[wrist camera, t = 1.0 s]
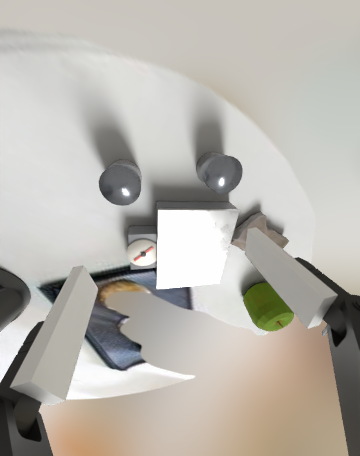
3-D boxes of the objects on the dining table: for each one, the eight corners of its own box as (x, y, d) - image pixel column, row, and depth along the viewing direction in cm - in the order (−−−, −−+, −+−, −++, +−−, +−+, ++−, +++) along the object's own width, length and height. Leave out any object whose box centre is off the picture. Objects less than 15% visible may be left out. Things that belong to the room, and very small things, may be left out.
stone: (220, 238, 36) (228, 249, 32) (253, 205, 33) (266, 213, 30) (255, 264, 43) (265, 275, 39) (285, 238, 40) (298, 248, 36)
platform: (156, 286, 34) (156, 289, 34) (158, 208, 26) (158, 210, 25) (217, 280, 37) (218, 283, 37) (237, 208, 28) (239, 210, 28)
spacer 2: (194, 182, 28) (205, 193, 23) (198, 150, 26) (211, 155, 21) (220, 183, 29) (237, 193, 24) (227, 153, 27) (246, 157, 22)
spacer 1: (110, 191, 26) (102, 205, 21) (106, 158, 24) (95, 165, 19) (142, 192, 27) (141, 205, 22) (140, 160, 25) (140, 167, 20)
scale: (131, 276, 36) (129, 289, 33) (124, 200, 27) (121, 208, 24) (212, 270, 40) (217, 281, 37) (229, 202, 31) (238, 209, 28)
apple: (232, 294, 47) (253, 334, 38) (262, 272, 44) (293, 308, 35) (250, 306, 52) (273, 343, 43) (278, 287, 50) (309, 322, 40)
